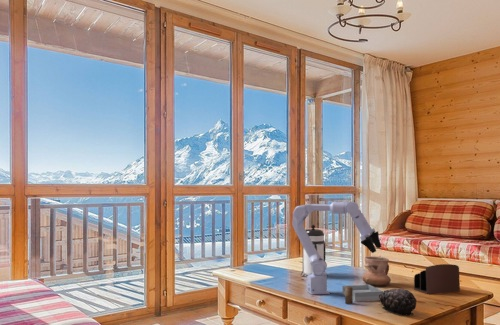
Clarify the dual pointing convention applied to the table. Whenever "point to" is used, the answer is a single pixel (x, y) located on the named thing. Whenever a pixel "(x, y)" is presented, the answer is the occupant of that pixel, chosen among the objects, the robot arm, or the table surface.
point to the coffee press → (319, 245)
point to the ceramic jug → (376, 271)
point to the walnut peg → (348, 295)
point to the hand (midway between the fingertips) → (376, 249)
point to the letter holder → (438, 279)
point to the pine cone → (398, 301)
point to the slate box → (364, 293)
